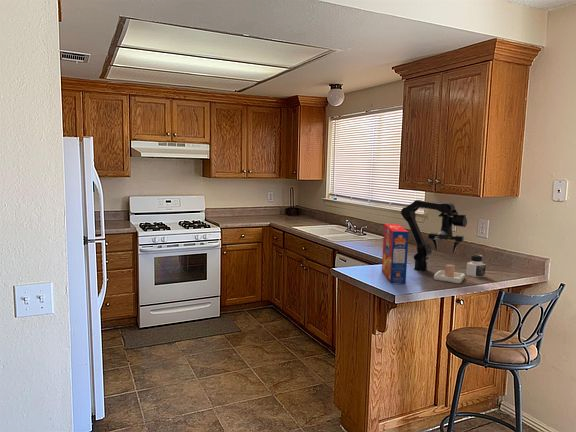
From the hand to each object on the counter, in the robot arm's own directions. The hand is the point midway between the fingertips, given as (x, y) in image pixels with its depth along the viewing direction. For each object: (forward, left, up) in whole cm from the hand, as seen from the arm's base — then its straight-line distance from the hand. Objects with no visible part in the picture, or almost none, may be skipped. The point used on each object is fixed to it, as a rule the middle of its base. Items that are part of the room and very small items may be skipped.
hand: (445, 251), depth 253 cm
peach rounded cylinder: (+5, -9, -12) cm, 16 cm away
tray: (+5, -9, -13) cm, 17 cm away
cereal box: (-22, -24, -13) cm, 35 cm away
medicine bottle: (+16, +8, -13) cm, 22 cm away
